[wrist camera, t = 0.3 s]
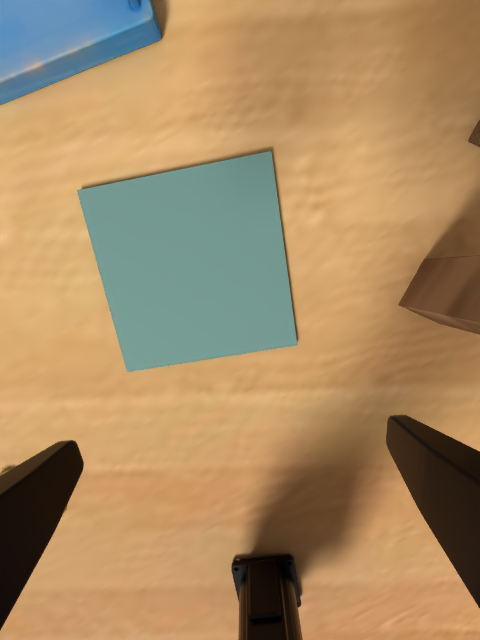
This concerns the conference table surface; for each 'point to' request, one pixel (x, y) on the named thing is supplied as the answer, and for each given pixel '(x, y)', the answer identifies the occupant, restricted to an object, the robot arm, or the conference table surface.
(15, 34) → the file sorter
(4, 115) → the conference table surface
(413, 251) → the conference table surface
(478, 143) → the dark grey upright stand
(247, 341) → the rubber mat
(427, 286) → the link bar
